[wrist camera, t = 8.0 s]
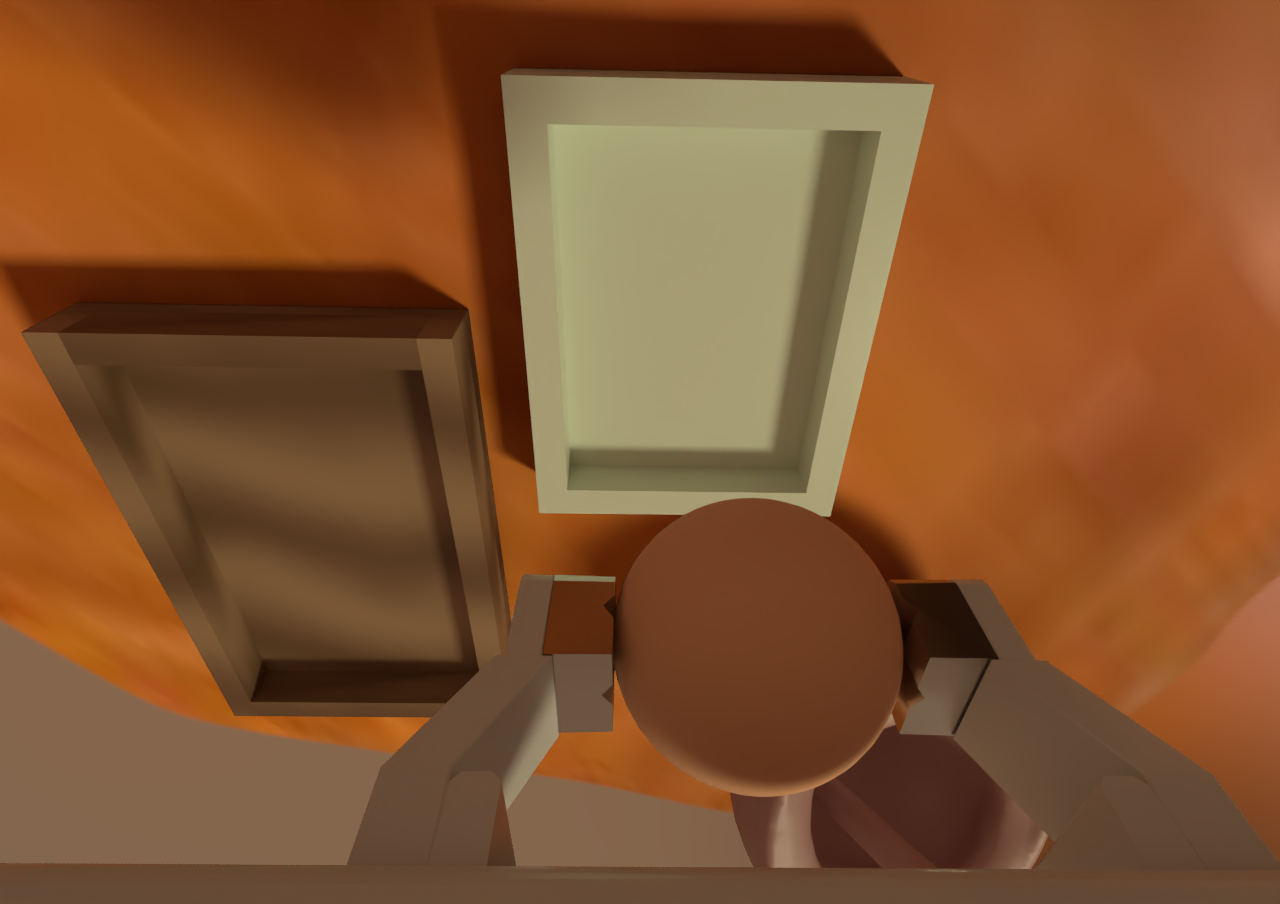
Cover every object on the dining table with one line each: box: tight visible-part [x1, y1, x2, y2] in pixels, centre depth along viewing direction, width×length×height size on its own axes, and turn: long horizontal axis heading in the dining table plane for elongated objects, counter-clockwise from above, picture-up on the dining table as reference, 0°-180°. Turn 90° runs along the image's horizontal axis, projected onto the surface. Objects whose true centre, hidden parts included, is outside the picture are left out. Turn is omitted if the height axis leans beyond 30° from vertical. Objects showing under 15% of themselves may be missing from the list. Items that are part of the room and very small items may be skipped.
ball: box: [614, 498, 903, 797], centre depth 10 cm, size 4×4×4 cm
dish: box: [21, 303, 511, 717], centre depth 24 cm, size 18×12×2 cm, turn 179°
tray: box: [501, 68, 934, 516], centre depth 19 cm, size 13×10×2 cm
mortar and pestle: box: [730, 713, 1048, 869], centre depth 25 cm, size 12×12×12 cm
